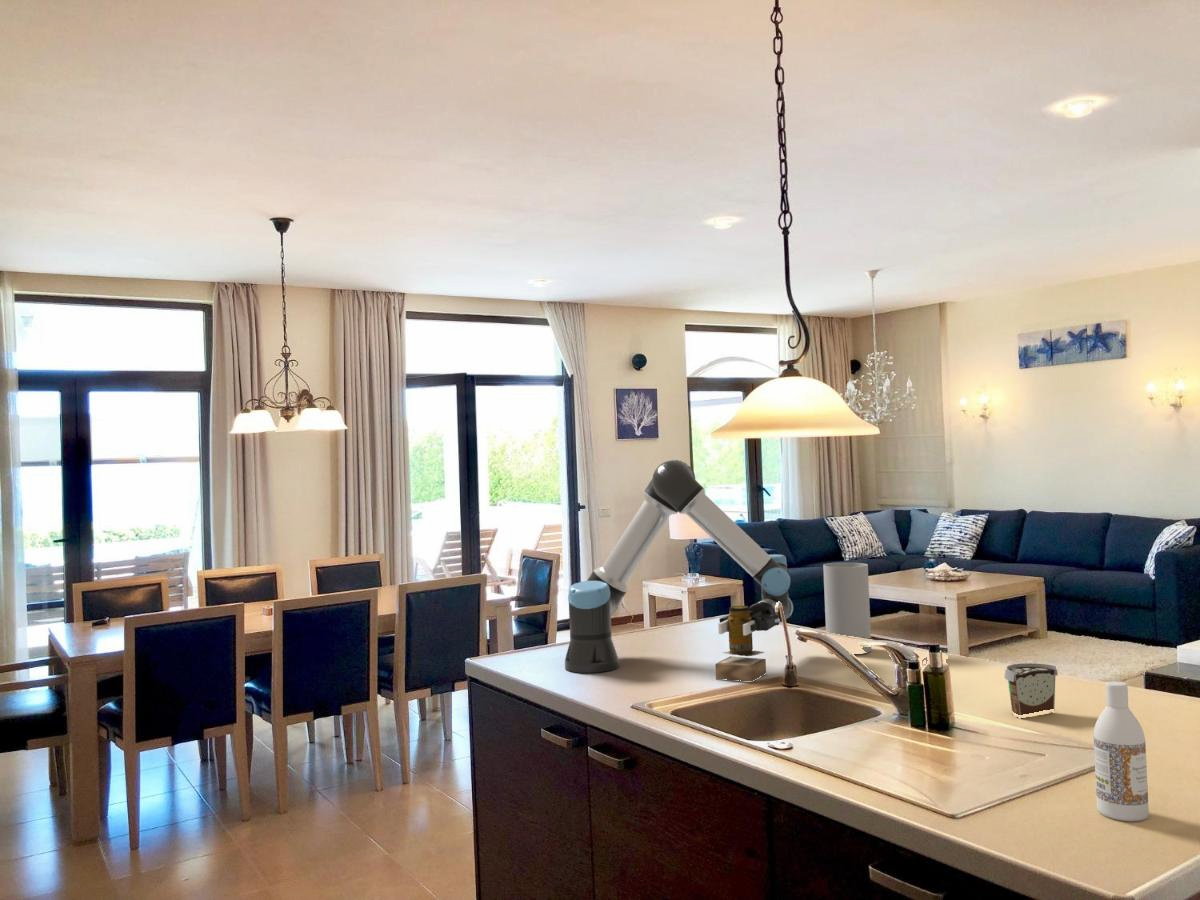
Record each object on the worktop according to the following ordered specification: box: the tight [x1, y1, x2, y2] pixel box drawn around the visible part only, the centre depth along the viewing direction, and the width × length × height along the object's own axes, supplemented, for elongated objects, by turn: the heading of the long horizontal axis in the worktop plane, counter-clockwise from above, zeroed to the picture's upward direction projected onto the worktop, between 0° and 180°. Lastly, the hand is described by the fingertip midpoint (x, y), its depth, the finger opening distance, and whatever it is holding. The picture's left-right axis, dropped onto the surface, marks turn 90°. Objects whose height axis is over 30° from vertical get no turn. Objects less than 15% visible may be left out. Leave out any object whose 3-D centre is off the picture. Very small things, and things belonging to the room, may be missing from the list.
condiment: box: [722, 605, 765, 657], centre depth 243 cm, size 7×8×12 cm
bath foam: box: [1093, 680, 1150, 822], centre depth 143 cm, size 7×7×20 cm
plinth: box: [714, 655, 767, 682], centre depth 244 cm, size 10×10×4 cm
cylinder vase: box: [822, 562, 872, 654], centre depth 271 cm, size 12×12×25 cm
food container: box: [1003, 662, 1059, 715], centre depth 200 cm, size 12×6×10 cm, turn 111°
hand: (732, 629), depth 239 cm, fingers closed on condiment, 6 cm apart
